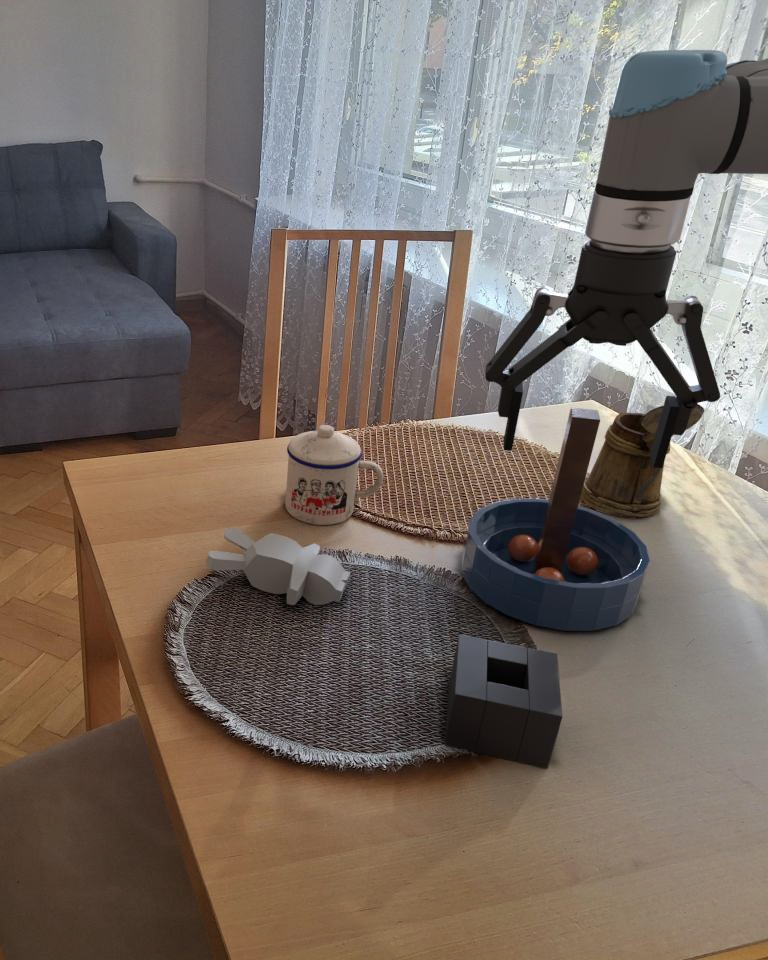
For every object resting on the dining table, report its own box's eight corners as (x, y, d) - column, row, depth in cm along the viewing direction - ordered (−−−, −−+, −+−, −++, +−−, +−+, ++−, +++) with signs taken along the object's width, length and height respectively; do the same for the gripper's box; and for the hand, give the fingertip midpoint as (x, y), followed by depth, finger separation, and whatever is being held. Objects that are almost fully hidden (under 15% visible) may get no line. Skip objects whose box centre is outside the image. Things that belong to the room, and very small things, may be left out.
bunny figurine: (338, 594, 88) (203, 548, 93) (328, 631, 91) (198, 584, 96) (359, 547, 96) (233, 507, 101) (349, 583, 98) (227, 542, 103)
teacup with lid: (280, 523, 108) (285, 440, 102) (285, 488, 116) (291, 409, 110) (379, 533, 105) (390, 448, 100) (377, 496, 113) (388, 416, 108)
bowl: (624, 556, 99) (637, 511, 97) (645, 650, 85) (661, 602, 82) (463, 531, 105) (471, 488, 102) (457, 616, 91) (466, 569, 88)
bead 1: (540, 548, 99) (539, 530, 97) (537, 569, 97) (537, 551, 95) (509, 545, 100) (509, 527, 98) (506, 566, 99) (505, 548, 96)
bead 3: (606, 575, 94) (602, 549, 93) (576, 583, 94) (572, 557, 93) (591, 564, 97) (587, 539, 96) (563, 571, 97) (558, 546, 96)
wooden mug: (605, 537, 103) (644, 400, 94) (570, 482, 115) (602, 355, 106) (685, 541, 102) (732, 402, 93) (642, 485, 113) (680, 357, 105)
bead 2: (562, 605, 91) (573, 581, 92) (552, 588, 89) (564, 563, 90) (532, 599, 94) (543, 576, 95) (522, 582, 92) (534, 558, 93)
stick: (556, 573, 96) (598, 410, 86) (557, 585, 94) (600, 420, 84) (532, 569, 97) (570, 407, 87) (533, 581, 95) (572, 416, 85)
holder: (543, 703, 79) (557, 653, 76) (547, 769, 73) (562, 716, 70) (449, 683, 82) (458, 634, 79) (444, 745, 75) (454, 693, 72)
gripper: (480, 246, 78) (448, 453, 88) (808, 260, 70) (730, 487, 80) (482, 227, 84) (451, 423, 94) (783, 238, 76) (714, 452, 86)
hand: (579, 453), depth 87 cm, fingers open, 13 cm apart
